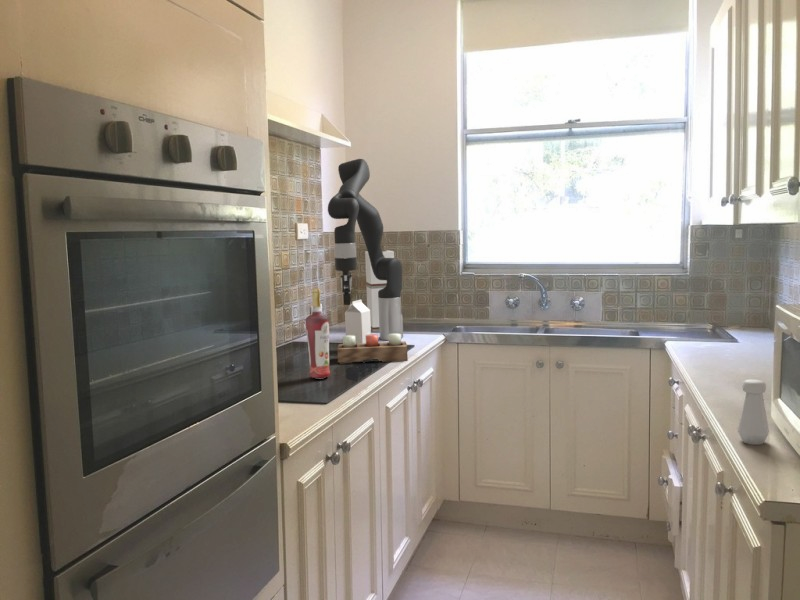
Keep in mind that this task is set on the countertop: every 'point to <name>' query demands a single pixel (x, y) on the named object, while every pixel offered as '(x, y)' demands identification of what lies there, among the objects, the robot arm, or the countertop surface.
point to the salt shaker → (753, 414)
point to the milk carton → (358, 321)
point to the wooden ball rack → (373, 352)
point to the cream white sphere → (394, 339)
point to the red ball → (372, 340)
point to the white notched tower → (374, 290)
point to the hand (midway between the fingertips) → (347, 303)
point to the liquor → (318, 339)
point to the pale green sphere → (349, 341)
